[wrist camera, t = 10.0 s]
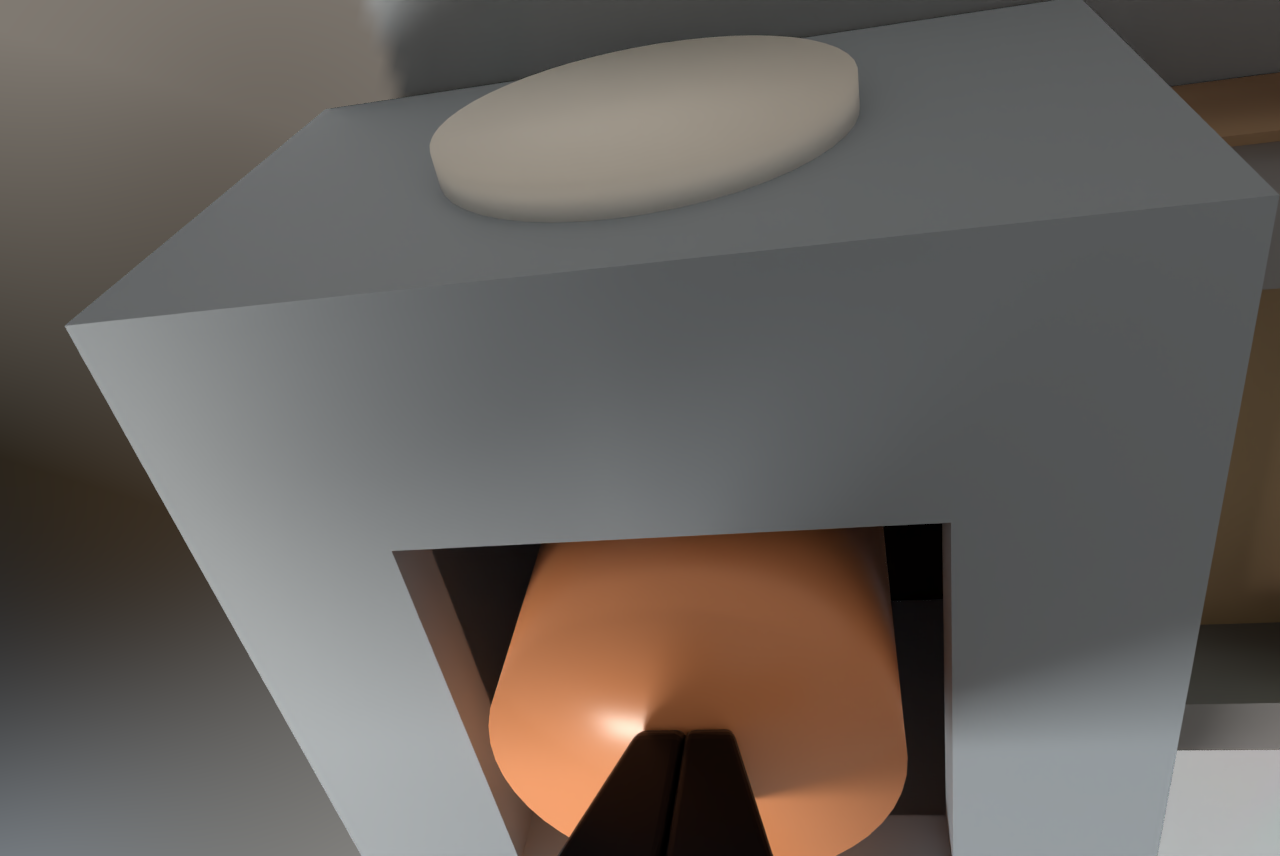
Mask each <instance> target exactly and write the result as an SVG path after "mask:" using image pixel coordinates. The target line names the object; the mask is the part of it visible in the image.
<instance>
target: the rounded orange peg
mask: <svg viewBox="0 0 1280 856" xmlns="http://www.w3.org/2000/svg"><path fill="white" fill-rule="evenodd" d="M488 727H489V736H490V744H491V747H492V751H493V754H494V757H495V760H496V762H497V764H498V766H499V768H500V770H501V772H502V774H503V776H504V778H505V779H506V781H507V782H508V783H509V785H510V786H511V788H512V789H513V791H514V792H515V793H516V794H517V795H518V796H519V797H520V799H521V800H522V801H523V802H524V803H525V804H526V805H527V806H528V807H529V808H530V809H531V810H532V811H534V812H535V813H536V814H537V815H538V816H539V817H540V818H542V819H543V820H544V821H545V822H547V823H548V824H550V825H551V826H553V827H554V828H555V829H557V830H558V831H560V832H561V833H563V834H565V835H566V836H568V837H570V835H571V833H572V832H573V830H574V829H575V827H576V826H577V824H578V823H579V821H580V820H581V818H582V816H583V815H584V813H585V812H586V810H587V809H588V807H589V806H590V804H591V803H592V801H593V799H594V798H595V796H596V795H597V793H598V792H599V790H600V789H601V787H602V786H603V784H604V782H605V781H606V779H607V778H608V776H609V775H610V773H611V772H612V770H613V768H614V767H615V765H616V764H617V762H618V761H619V759H620V758H621V756H622V755H623V753H624V751H625V750H626V748H627V747H628V745H629V744H630V742H631V741H632V739H633V738H634V737H635V736H636V735H637V734H638V733H640V732H641V731H645V730H679V731H682V732H683V733H684V734H685V736H686V735H687V734H688V733H689V732H690V731H692V730H711V729H727V730H730V731H732V733H733V734H734V736H735V738H736V741H737V744H738V747H739V750H740V753H741V756H742V759H743V762H744V766H745V769H746V772H747V775H748V778H749V781H750V784H751V788H752V791H753V794H754V797H755V800H756V803H757V806H758V809H759V813H760V816H761V819H762V822H763V825H764V828H765V831H766V835H767V838H768V841H769V844H770V847H771V850H772V853H773V856H836V855H838V854H840V853H842V852H844V851H846V850H848V849H850V848H852V847H853V846H854V845H856V844H857V843H859V842H860V841H862V840H863V839H865V838H866V837H868V836H869V835H870V834H871V833H872V832H873V831H874V830H875V829H876V828H877V827H878V826H880V825H881V824H882V823H883V821H884V820H885V819H886V818H887V816H888V815H889V814H890V812H891V811H892V810H893V809H894V807H895V805H896V803H897V801H898V799H899V797H900V795H901V793H902V790H903V787H904V783H905V779H906V776H907V760H908V756H907V747H906V737H905V728H904V718H903V709H902V699H901V690H900V681H899V671H898V662H897V652H896V643H895V633H894V624H893V615H892V605H891V596H890V586H889V577H888V567H887V558H886V549H885V539H884V530H883V526H875V527H855V528H835V529H816V530H796V531H777V532H757V533H737V534H718V535H698V536H678V537H659V538H639V539H619V540H600V541H580V542H560V543H541V546H540V549H539V553H538V556H537V559H536V562H535V565H534V569H533V572H532V575H531V578H530V582H529V585H528V588H527V591H526V594H525V598H524V601H523V604H522V607H521V611H520V614H519V617H518V620H517V623H516V627H515V630H514V633H513V636H512V640H511V643H510V646H509V649H508V652H507V656H506V659H505V662H504V665H503V669H502V672H501V675H500V678H499V682H498V685H497V688H496V691H495V694H494V698H493V701H492V704H491V707H490V715H489V725H488Z"/></svg>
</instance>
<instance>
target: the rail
mask: <svg viewBox="0 0 1280 856" xmlns="http://www.w3.org/2000/svg"><path fill="white" fill-rule="evenodd" d="M1171 88H1172V89H1173V90H1174V91H1175V92H1176V93H1177V94H1178V95H1179V96H1180V97H1181V98H1182V99H1183V100H1184V101H1185V102H1186V103H1187V104H1188V105H1189V106H1190V107H1191V108H1192V109H1193V110H1194V111H1195V112H1196V113H1197V114H1198V115H1199V116H1200V117H1201V118H1202V119H1203V120H1204V121H1205V122H1206V123H1207V124H1208V125H1209V126H1210V127H1211V128H1212V129H1213V130H1214V131H1215V132H1216V133H1217V134H1218V135H1219V136H1220V137H1221V138H1222V139H1224V140H1225V141H1226V142H1227V143H1228V144H1229V145H1230V146H1231V147H1232V148H1233V149H1234V150H1235V151H1236V152H1237V153H1238V154H1239V155H1240V156H1241V157H1242V158H1243V159H1244V160H1245V161H1246V162H1247V163H1248V164H1249V165H1250V166H1251V167H1252V168H1253V169H1254V170H1255V171H1256V172H1257V173H1258V174H1259V175H1260V176H1261V177H1262V178H1263V179H1264V180H1265V181H1266V182H1267V183H1268V184H1269V185H1270V186H1271V187H1272V188H1273V189H1274V190H1275V191H1276V192H1277V193H1278V194H1279V200H1278V206H1277V211H1276V217H1275V222H1274V227H1273V233H1272V238H1271V244H1270V249H1269V255H1268V260H1267V265H1266V271H1265V276H1264V282H1263V287H1262V292H1261V298H1260V303H1259V309H1258V314H1257V320H1256V325H1255V330H1254V336H1253V341H1252V347H1251V352H1250V357H1249V363H1248V368H1247V374H1246V379H1245V385H1244V390H1243V395H1242V401H1241V406H1240V412H1239V417H1238V422H1237V428H1236V433H1235V439H1234V444H1233V449H1232V455H1231V460H1230V466H1229V471H1228V477H1227V482H1226V487H1225V493H1224V498H1223V504H1222V509H1221V514H1220V520H1219V525H1218V531H1217V536H1216V542H1215V547H1214V552H1213V558H1212V563H1211V569H1210V574H1209V579H1208V585H1207V590H1206V596H1205V601H1204V607H1203V612H1202V617H1201V623H1200V628H1199V634H1198V639H1197V644H1196V650H1195V655H1194V661H1193V666H1192V672H1191V677H1190V682H1189V688H1188V693H1187V699H1186V704H1185V709H1184V715H1183V720H1182V726H1181V731H1180V737H1179V742H1178V747H1177V750H1280V72H1279V73H1272V74H1264V75H1256V76H1249V77H1241V78H1233V79H1226V80H1218V81H1210V82H1203V83H1195V84H1187V85H1180V86H1172V87H1171Z"/></svg>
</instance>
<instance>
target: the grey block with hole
mask: <svg viewBox="0 0 1280 856" xmlns="http://www.w3.org/2000/svg"><path fill="white" fill-rule="evenodd" d="M1278 200H1279V194H1278V193H1277V192H1276V191H1275V190H1274V189H1273V188H1272V187H1271V186H1270V185H1269V184H1268V183H1267V182H1266V181H1265V180H1264V179H1263V178H1262V177H1261V176H1260V175H1259V174H1258V173H1257V172H1256V171H1255V170H1254V169H1253V168H1252V167H1251V166H1250V165H1249V164H1248V163H1247V162H1246V161H1245V160H1244V159H1243V158H1242V157H1241V156H1240V155H1239V154H1238V153H1237V152H1236V151H1235V150H1234V149H1233V148H1232V147H1231V146H1230V145H1229V144H1228V143H1227V142H1226V141H1225V140H1224V139H1222V138H1221V137H1220V136H1219V135H1218V134H1217V133H1216V132H1215V131H1214V130H1213V129H1212V128H1211V127H1210V126H1209V125H1208V124H1207V123H1206V122H1205V121H1204V120H1203V119H1202V118H1201V117H1200V116H1199V115H1198V114H1197V113H1196V112H1195V111H1194V110H1193V109H1192V108H1191V107H1190V106H1189V105H1188V104H1187V103H1186V102H1185V101H1184V100H1183V99H1182V98H1181V97H1180V96H1179V95H1178V94H1177V93H1176V92H1175V91H1174V90H1173V89H1172V88H1171V87H1170V86H1169V85H1168V84H1167V83H1166V82H1165V81H1164V80H1163V79H1162V78H1161V77H1160V76H1159V75H1158V74H1157V73H1156V72H1155V71H1154V70H1153V69H1152V68H1151V67H1150V66H1149V65H1148V64H1147V63H1146V62H1145V61H1144V60H1143V59H1142V58H1141V57H1140V56H1139V55H1138V54H1137V53H1136V52H1135V51H1134V50H1133V49H1132V48H1131V47H1130V46H1129V45H1128V44H1127V43H1126V42H1125V41H1124V40H1123V39H1122V38H1121V37H1119V36H1118V35H1117V34H1116V33H1115V32H1114V31H1113V30H1112V29H1111V28H1110V27H1109V26H1108V25H1107V24H1106V23H1105V22H1104V21H1103V20H1102V19H1101V18H1100V17H1099V16H1098V15H1097V14H1096V13H1095V12H1094V11H1093V10H1092V9H1091V8H1090V7H1089V6H1088V5H1087V4H1086V3H1085V2H1084V1H1083V0H1053V1H1046V2H1039V3H1033V4H1026V5H1019V6H1013V7H1006V8H999V9H993V10H986V11H979V12H973V13H966V14H959V15H952V16H946V17H939V18H932V19H926V20H919V21H912V22H906V23H899V24H892V25H886V26H879V27H872V28H866V29H859V30H852V31H845V32H839V33H832V34H825V35H819V36H812V37H805V38H795V37H784V36H763V35H745V36H721V37H707V38H697V39H688V40H680V41H672V42H665V43H659V44H653V45H647V46H641V47H636V48H631V49H626V50H621V51H616V52H612V53H607V54H603V55H599V56H594V57H590V58H587V59H583V60H579V61H576V62H572V63H568V64H565V65H562V66H559V67H555V68H552V69H549V70H546V71H543V72H540V73H537V74H534V75H531V76H529V77H526V78H523V79H521V80H518V81H511V82H504V83H498V84H491V85H484V86H478V87H471V88H464V89H458V90H451V91H444V92H438V93H431V94H424V95H417V96H411V97H404V98H397V99H391V100H384V101H377V102H371V103H364V104H358V105H351V106H344V107H337V108H331V109H325V110H324V111H323V112H322V113H320V114H319V115H318V116H317V117H316V118H314V119H313V120H312V121H311V122H310V123H308V124H307V125H306V126H305V127H304V128H302V129H301V130H300V131H299V132H297V133H296V134H295V135H294V136H293V137H291V138H290V139H289V140H288V141H287V142H285V143H284V144H283V145H282V146H281V147H280V148H278V149H277V150H276V151H275V152H273V153H272V154H271V155H270V156H269V157H267V158H266V159H265V160H264V161H263V162H261V163H260V164H259V165H258V166H257V167H255V168H254V169H253V170H252V171H250V172H249V173H248V174H247V175H246V176H245V177H243V178H242V179H241V180H240V181H239V182H237V183H236V184H235V185H234V186H232V187H231V188H230V189H229V190H228V191H226V192H225V193H224V194H223V195H222V196H220V197H219V198H218V199H217V200H216V201H214V202H213V203H212V204H211V205H210V206H208V207H207V208H206V209H205V210H204V211H202V212H201V213H200V214H199V215H197V216H196V217H195V218H194V219H193V220H191V221H190V222H189V223H188V224H187V225H185V226H184V227H183V228H182V229H181V230H180V231H178V232H177V233H176V234H175V235H173V236H172V237H171V238H170V239H169V240H167V241H166V242H165V243H164V244H163V245H161V246H160V247H159V248H158V249H157V250H156V251H154V252H153V253H152V254H151V255H149V256H148V257H147V258H146V259H144V260H143V261H142V262H141V263H140V264H138V265H137V266H136V267H135V268H134V269H132V270H131V271H130V272H129V273H128V274H126V275H125V276H124V277H123V278H122V279H120V280H119V281H118V282H117V283H116V284H114V285H113V286H112V287H111V288H110V289H108V290H107V291H106V292H105V293H104V294H102V295H101V296H100V297H99V298H98V299H96V300H95V301H94V302H93V303H92V304H90V305H89V306H88V307H87V308H85V309H84V310H83V311H82V312H81V313H79V314H78V315H77V316H76V317H75V318H73V319H72V320H71V321H70V322H69V323H67V324H66V325H65V328H66V329H67V331H68V333H69V335H70V337H71V338H72V340H73V342H74V344H75V345H76V347H77V349H78V351H79V352H80V354H81V356H82V358H83V360H84V361H85V363H86V365H87V367H88V368H89V370H90V372H91V374H92V376H93V378H94V379H95V381H96V383H97V385H98V387H99V388H100V390H101V392H102V394H103V395H104V397H105V399H106V401H107V402H108V404H109V406H110V408H111V410H112V411H113V413H114V415H115V417H116V419H117V420H118V422H119V424H120V426H121V427H122V429H123V431H124V433H125V435H126V436H127V438H128V440H129V442H130V444H131V445H132V447H133V449H134V451H135V453H136V454H137V456H138V458H139V460H140V461H141V463H142V465H143V467H144V468H145V470H146V472H147V474H148V476H149V478H150V479H151V481H152V483H153V485H154V486H155V488H156V490H157V492H158V494H159V495H160V497H161V499H162V501H163V502H164V504H165V506H166V508H167V510H168V511H169V513H170V515H171V517H172V519H173V520H174V522H175V524H176V526H177V527H178V529H179V531H180V533H181V534H182V536H183V538H184V540H185V542H186V544H187V545H188V547H189V549H190V551H191V552H192V554H193V556H194V558H195V560H196V561H197V563H198V565H199V567H200V569H201V570H202V572H203V574H204V575H205V577H206V579H207V581H208V583H209V585H210V586H211V588H212V590H213V592H214V593H215V595H216V597H217V598H218V601H219V602H220V604H221V606H222V608H223V609H224V611H225V613H226V615H227V616H228V618H229V620H230V622H231V624H232V626H233V627H234V629H235V631H236V633H237V635H238V636H239V638H240V640H241V642H242V643H243V645H244V647H245V649H246V651H247V652H248V654H249V656H250V658H251V660H252V661H253V663H254V665H255V667H256V668H257V670H258V672H259V674H260V675H261V677H262V679H263V681H264V683H265V684H266V686H267V688H268V690H269V691H270V693H271V695H272V697H273V699H274V701H275V702H276V704H277V706H278V707H279V710H280V711H281V713H282V715H283V717H284V718H285V720H286V722H287V723H288V726H289V727H290V729H291V731H292V733H293V735H294V736H295V738H296V740H297V741H298V743H299V745H300V747H301V749H302V751H303V752H304V754H305V756H306V757H307V760H308V761H309V763H310V765H311V767H312V768H313V770H314V772H315V774H316V776H317V777H318V779H319V781H320V783H321V784H322V786H323V788H324V790H325V792H326V793H327V795H328V797H329V799H330V800H331V802H332V804H333V806H334V807H335V809H336V811H337V813H338V815H339V817H340V818H341V820H342V822H343V824H344V825H345V827H346V829H347V831H348V833H349V834H350V836H351V838H352V840H353V842H354V843H355V845H356V847H357V849H358V850H359V852H360V854H361V856H557V855H558V854H559V852H560V850H561V849H562V847H563V846H564V844H565V843H566V841H567V840H568V838H569V837H568V836H566V835H565V834H563V833H561V832H560V831H558V830H557V829H555V828H554V827H553V826H551V825H550V824H548V823H547V822H545V821H544V820H543V819H542V818H540V817H539V816H538V815H537V814H536V813H535V812H534V811H532V810H531V809H530V808H529V807H528V806H527V805H526V804H525V803H524V802H523V801H522V800H521V799H520V797H519V796H518V795H517V794H516V793H515V792H514V791H513V789H512V788H511V786H510V785H509V783H508V782H507V781H506V779H505V778H504V776H503V774H502V772H501V770H500V768H499V766H498V764H497V762H496V760H495V757H494V754H493V751H492V747H491V744H490V736H489V727H488V725H489V715H490V707H491V704H492V701H493V698H494V694H495V691H496V688H497V685H498V682H499V678H500V675H501V672H502V669H503V665H504V662H505V659H506V656H507V652H508V649H509V646H510V643H511V640H512V636H513V633H514V630H515V627H516V623H517V620H518V617H519V614H520V611H521V607H522V604H523V601H524V598H525V594H526V591H527V588H528V585H529V582H530V578H531V575H532V572H533V569H534V565H535V562H536V559H537V556H538V553H539V549H540V546H541V543H560V542H580V541H600V540H619V539H639V538H659V537H678V536H698V535H718V534H737V533H757V532H777V531H796V530H816V529H835V528H855V527H875V526H894V525H914V524H934V523H942V546H943V599H934V600H906V601H891V605H892V615H893V624H894V633H895V643H896V652H897V662H898V671H899V681H900V690H901V699H902V709H903V718H904V728H905V737H906V747H907V756H908V760H907V776H906V779H905V783H904V787H903V790H902V793H901V795H900V797H899V799H898V801H897V803H896V805H895V807H894V809H893V810H892V811H891V812H890V814H889V815H888V816H887V818H886V819H885V820H884V821H883V823H882V824H881V825H880V826H878V827H877V828H876V829H875V830H874V831H873V832H872V833H871V834H870V835H869V836H868V837H866V838H865V839H863V840H862V841H860V842H859V843H857V844H856V845H854V846H853V847H852V848H850V849H848V850H846V851H844V852H842V853H840V854H838V855H836V856H1158V850H1159V845H1160V839H1161V834H1162V829H1163V823H1164V818H1165V812H1166V807H1167V801H1168V796H1169V791H1170V785H1171V780H1172V774H1173V769H1174V764H1175V758H1176V753H1177V747H1178V742H1179V737H1180V731H1181V726H1182V720H1183V715H1184V709H1185V704H1186V699H1187V693H1188V688H1189V682H1190V677H1191V672H1192V666H1193V661H1194V655H1195V650H1196V644H1197V639H1198V634H1199V628H1200V623H1201V617H1202V612H1203V607H1204V601H1205V596H1206V590H1207V585H1208V579H1209V574H1210V569H1211V563H1212V558H1213V552H1214V547H1215V542H1216V536H1217V531H1218V525H1219V520H1220V514H1221V509H1222V504H1223V498H1224V493H1225V487H1226V482H1227V477H1228V471H1229V466H1230V460H1231V455H1232V449H1233V444H1234V439H1235V433H1236V428H1237V422H1238V417H1239V412H1240V406H1241V401H1242V395H1243V390H1244V385H1245V379H1246V374H1247V368H1248V363H1249V357H1250V352H1251V347H1252V341H1253V336H1254V330H1255V325H1256V320H1257V314H1258V309H1259V303H1260V298H1261V292H1262V287H1263V282H1264V276H1265V271H1266V265H1267V260H1268V255H1269V249H1270V244H1271V238H1272V233H1273V227H1274V222H1275V217H1276V211H1277V206H1278Z"/></svg>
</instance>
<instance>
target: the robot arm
mask: <svg viewBox="0 0 1280 856" xmlns="http://www.w3.org/2000/svg"><path fill="white" fill-rule="evenodd" d="M557 856H773V853H772V850H771V847H770V844H769V841H768V838H767V835H766V831H765V828H764V825H763V822H762V819H761V816H760V813H759V809H758V806H757V803H756V800H755V797H754V794H753V791H752V788H751V784H750V781H749V778H748V775H747V772H746V769H745V766H744V762H743V759H742V756H741V753H740V750H739V747H738V744H737V741H736V738H735V736H734V734H733V733H732V731H730V730H727V729H711V730H692V731H690V732H689V733H688V734H687V735H686V736H685V734H684V733H683V732H682V731H679V730H645V731H641V732H640V733H638V734H637V735H636V736H635V737H634V738H633V739H632V741H631V742H630V744H629V745H628V747H627V748H626V750H625V751H624V753H623V755H622V756H621V758H620V759H619V761H618V762H617V764H616V765H615V767H614V768H613V770H612V772H611V773H610V775H609V776H608V778H607V779H606V781H605V782H604V784H603V786H602V787H601V789H600V790H599V792H598V793H597V795H596V796H595V798H594V799H593V801H592V803H591V804H590V806H589V807H588V809H587V810H586V812H585V813H584V815H583V816H582V818H581V820H580V821H579V823H578V824H577V826H576V827H575V829H574V830H573V832H572V833H571V835H570V837H569V838H568V840H567V841H566V843H565V844H564V846H563V847H562V849H561V850H560V852H559V854H558V855H557Z"/></svg>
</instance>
